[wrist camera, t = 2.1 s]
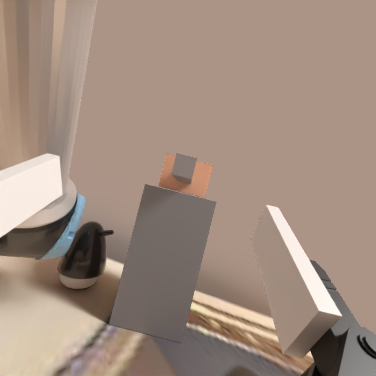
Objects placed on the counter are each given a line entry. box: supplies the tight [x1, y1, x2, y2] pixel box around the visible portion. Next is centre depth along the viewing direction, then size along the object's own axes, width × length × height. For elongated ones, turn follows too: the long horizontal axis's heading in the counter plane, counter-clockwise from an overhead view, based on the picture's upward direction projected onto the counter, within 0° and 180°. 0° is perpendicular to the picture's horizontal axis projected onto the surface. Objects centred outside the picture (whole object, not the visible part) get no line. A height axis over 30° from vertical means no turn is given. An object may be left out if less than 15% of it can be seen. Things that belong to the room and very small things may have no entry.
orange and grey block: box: [159, 154, 213, 197], centre depth 39 cm, size 22×10×7 cm, turn 0°
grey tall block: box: [109, 184, 216, 343], centre depth 43 cm, size 12×14×27 cm
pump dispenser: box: [57, 221, 114, 289], centre depth 48 cm, size 10×10×15 cm
